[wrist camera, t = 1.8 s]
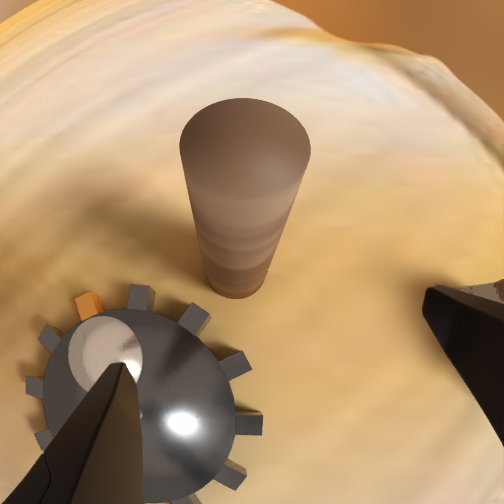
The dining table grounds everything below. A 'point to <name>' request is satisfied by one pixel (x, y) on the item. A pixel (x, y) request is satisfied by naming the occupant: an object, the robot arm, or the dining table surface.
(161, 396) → the sprocket plate
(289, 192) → the brown cylinder
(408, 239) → the dining table surface
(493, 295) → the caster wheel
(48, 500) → the robot arm
